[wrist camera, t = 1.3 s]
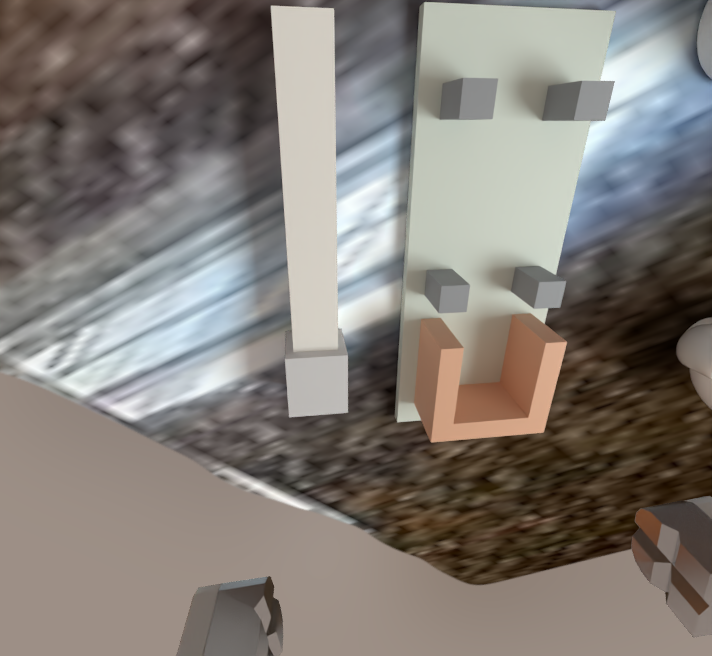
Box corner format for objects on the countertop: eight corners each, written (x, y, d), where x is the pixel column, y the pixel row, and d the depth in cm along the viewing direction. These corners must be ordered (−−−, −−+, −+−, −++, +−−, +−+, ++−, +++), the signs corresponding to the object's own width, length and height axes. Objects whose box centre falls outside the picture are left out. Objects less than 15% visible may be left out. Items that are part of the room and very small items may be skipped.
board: (419, 6, 25) (454, -27, 19) (604, 15, 26) (685, -14, 21) (394, 415, 38) (411, 462, 32) (519, 405, 39) (554, 449, 34)
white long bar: (263, 20, 24) (257, 0, 20) (338, 23, 25) (347, 4, 21) (289, 384, 35) (289, 417, 31) (341, 380, 35) (347, 412, 32)
